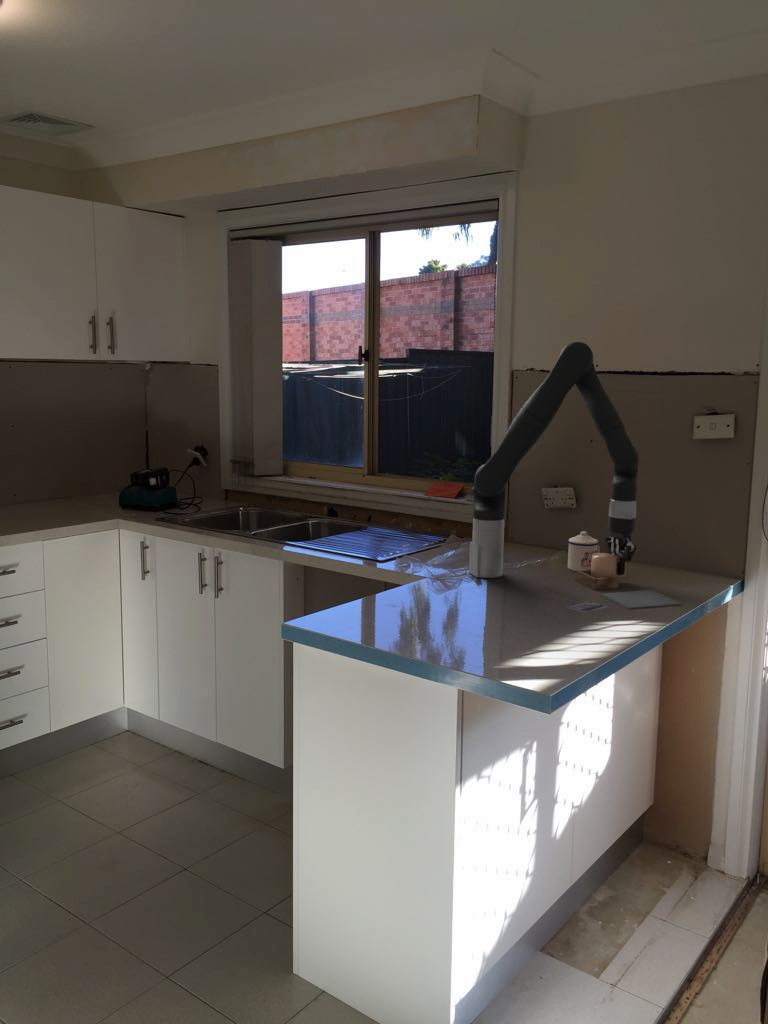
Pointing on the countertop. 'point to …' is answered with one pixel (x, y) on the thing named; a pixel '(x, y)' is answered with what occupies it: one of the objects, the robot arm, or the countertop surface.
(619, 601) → the charcoal mat
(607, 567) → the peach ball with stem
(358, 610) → the countertop surface
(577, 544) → the teacup with lid
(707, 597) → the countertop surface
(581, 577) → the walnut holder
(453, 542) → the countertop surface
